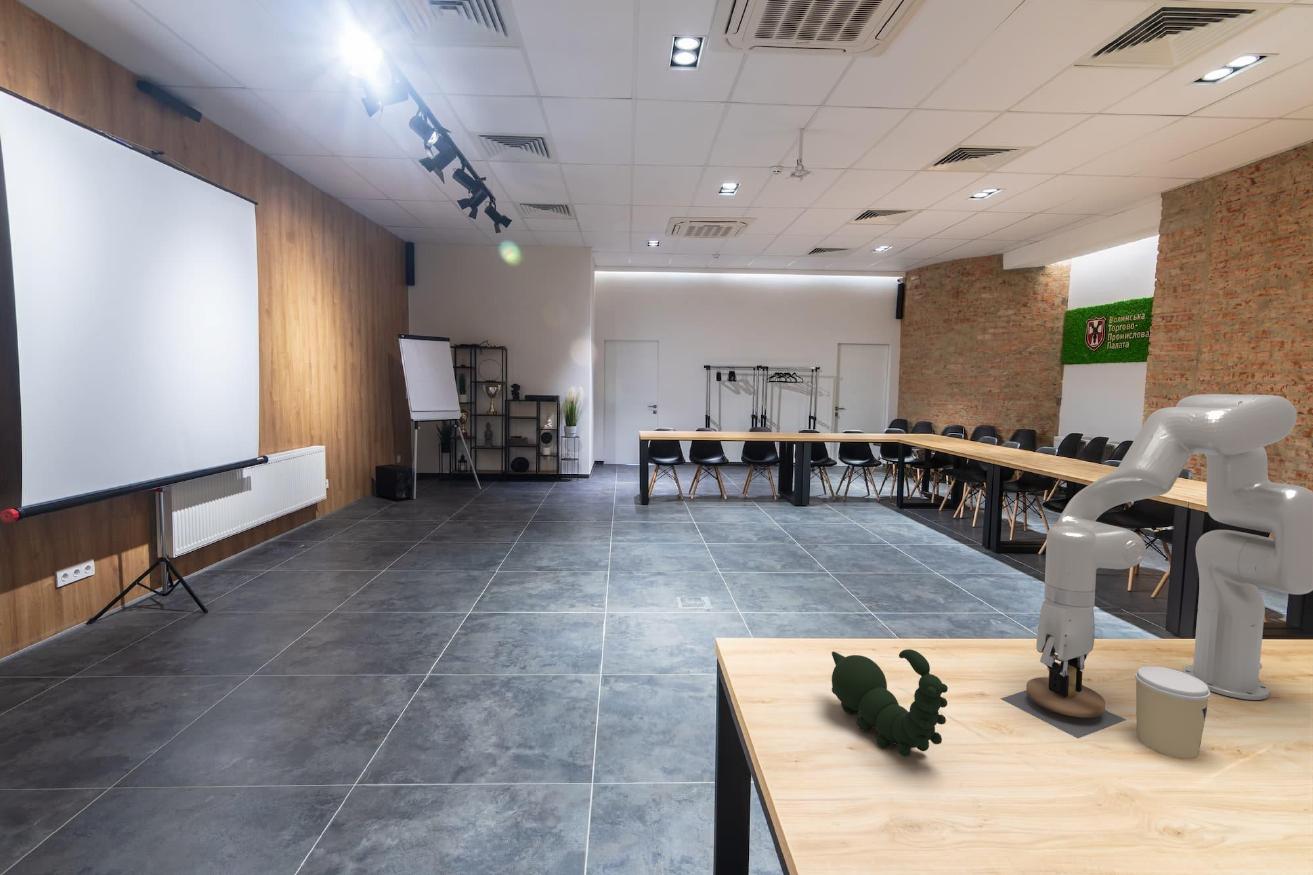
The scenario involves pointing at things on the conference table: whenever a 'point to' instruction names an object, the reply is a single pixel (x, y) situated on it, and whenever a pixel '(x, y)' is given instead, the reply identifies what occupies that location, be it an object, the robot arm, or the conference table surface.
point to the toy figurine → (890, 701)
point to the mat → (1063, 717)
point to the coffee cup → (1170, 711)
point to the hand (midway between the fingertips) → (1064, 690)
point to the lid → (1073, 704)
